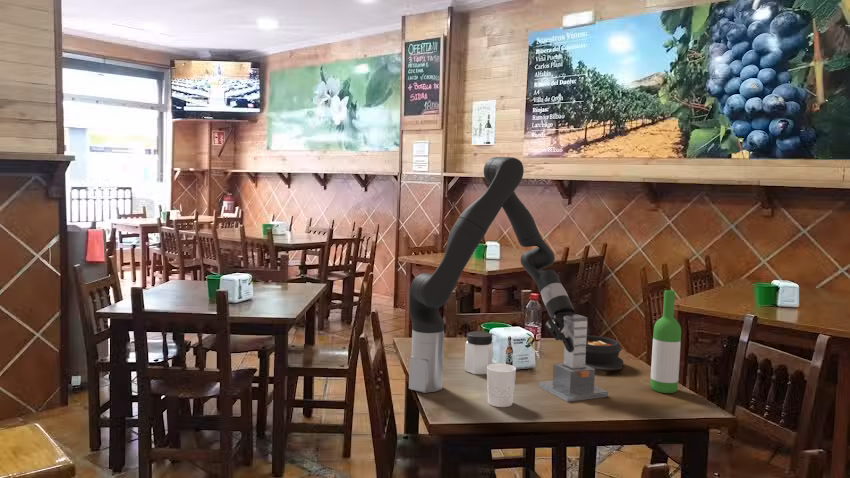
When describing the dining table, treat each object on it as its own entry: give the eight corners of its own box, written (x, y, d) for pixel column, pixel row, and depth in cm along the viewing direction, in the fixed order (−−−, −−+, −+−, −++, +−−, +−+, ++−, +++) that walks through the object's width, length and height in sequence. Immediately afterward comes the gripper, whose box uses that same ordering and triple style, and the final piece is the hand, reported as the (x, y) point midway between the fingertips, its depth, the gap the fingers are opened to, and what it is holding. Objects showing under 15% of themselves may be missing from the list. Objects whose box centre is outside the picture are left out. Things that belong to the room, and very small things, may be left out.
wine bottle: (679, 389, 190) (685, 290, 188) (675, 396, 184) (681, 293, 181) (652, 384, 194) (658, 287, 192) (647, 391, 188) (653, 290, 185)
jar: (486, 376, 198) (487, 338, 197) (461, 372, 201) (462, 335, 200) (494, 369, 206) (496, 332, 205) (470, 365, 209) (472, 329, 208)
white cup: (495, 396, 179) (497, 361, 178) (520, 403, 174) (521, 367, 173) (480, 403, 173) (481, 367, 172) (504, 410, 168) (506, 373, 167)
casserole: (635, 376, 203) (636, 350, 202) (578, 375, 202) (579, 349, 201) (608, 355, 228) (610, 332, 227) (557, 354, 227) (558, 331, 226)
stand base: (607, 396, 181) (609, 371, 181) (567, 401, 176) (568, 375, 175) (578, 382, 194) (579, 358, 194) (539, 386, 189) (540, 362, 188)
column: (585, 382, 183) (588, 317, 182) (571, 383, 182) (574, 318, 180) (575, 377, 188) (578, 314, 186) (561, 378, 186) (564, 315, 184)
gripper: (542, 295, 187) (564, 345, 177) (582, 293, 192) (605, 342, 182) (531, 309, 192) (552, 359, 182) (570, 307, 198) (593, 355, 188)
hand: (579, 350), depth 182 cm, fingers closed on column, 4 cm apart
